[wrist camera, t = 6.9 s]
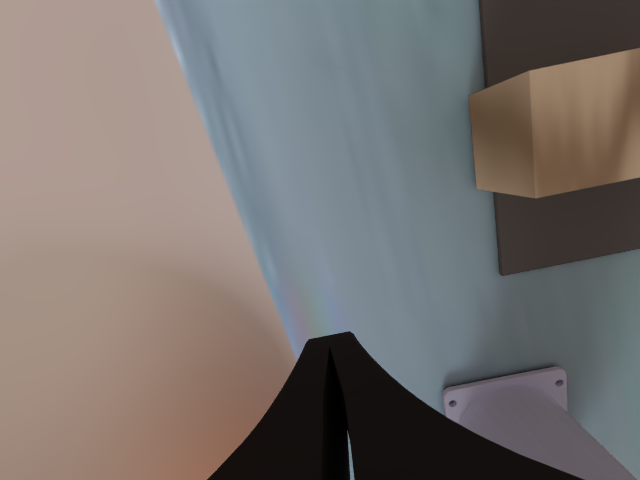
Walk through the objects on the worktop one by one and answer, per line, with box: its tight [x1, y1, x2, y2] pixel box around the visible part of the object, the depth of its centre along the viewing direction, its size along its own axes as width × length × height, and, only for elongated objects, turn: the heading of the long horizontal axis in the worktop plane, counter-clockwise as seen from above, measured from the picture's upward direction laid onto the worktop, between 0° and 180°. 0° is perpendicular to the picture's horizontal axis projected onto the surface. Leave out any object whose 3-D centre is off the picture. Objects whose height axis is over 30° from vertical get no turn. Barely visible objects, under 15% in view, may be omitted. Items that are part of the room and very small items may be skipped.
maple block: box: [469, 48, 640, 198], centre depth 16 cm, size 5×5×9 cm
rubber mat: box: [479, 0, 640, 276], centre depth 18 cm, size 16×11×1 cm
